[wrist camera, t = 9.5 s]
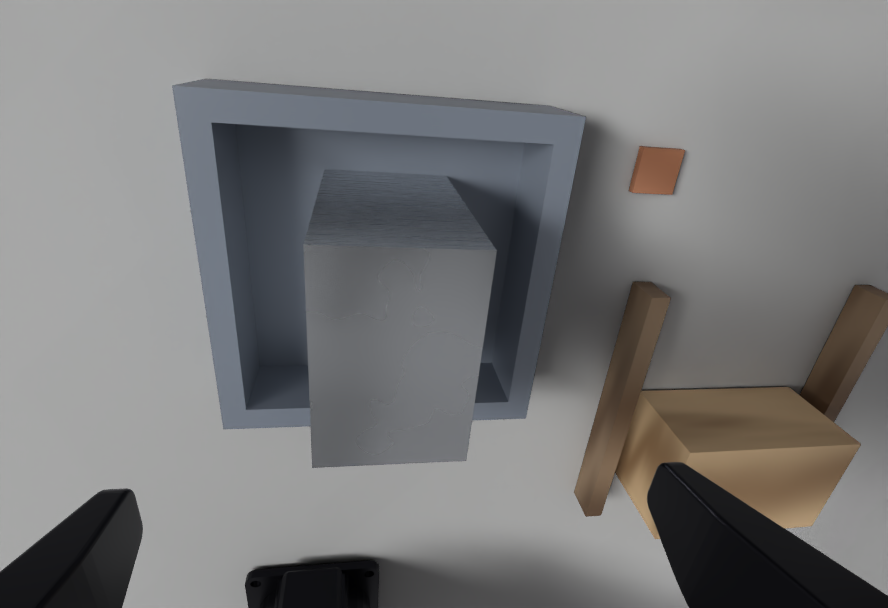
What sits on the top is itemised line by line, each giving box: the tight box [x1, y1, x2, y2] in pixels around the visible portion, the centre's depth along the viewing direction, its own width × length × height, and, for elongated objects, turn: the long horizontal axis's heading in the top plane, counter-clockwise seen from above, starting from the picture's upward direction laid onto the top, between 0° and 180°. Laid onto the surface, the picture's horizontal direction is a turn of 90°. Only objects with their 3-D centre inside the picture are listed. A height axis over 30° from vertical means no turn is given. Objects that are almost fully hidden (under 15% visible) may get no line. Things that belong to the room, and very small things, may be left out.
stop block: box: [303, 169, 497, 468], centre depth 15 cm, size 6×4×7 cm, turn 175°
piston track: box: [574, 146, 888, 517], centre depth 22 cm, size 17×13×2 cm
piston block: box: [615, 387, 861, 539], centre depth 23 cm, size 5×8×4 cm, turn 85°
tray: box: [172, 79, 586, 429], centre depth 17 cm, size 11×11×3 cm
